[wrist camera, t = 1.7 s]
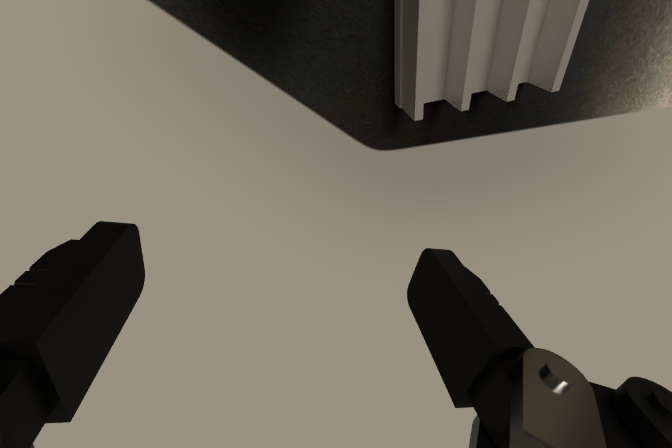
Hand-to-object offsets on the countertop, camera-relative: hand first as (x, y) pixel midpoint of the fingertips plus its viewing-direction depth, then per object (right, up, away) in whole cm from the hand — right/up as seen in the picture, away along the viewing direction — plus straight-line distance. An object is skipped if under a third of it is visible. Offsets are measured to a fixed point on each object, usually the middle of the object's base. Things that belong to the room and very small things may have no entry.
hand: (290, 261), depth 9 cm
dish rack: (+14, +22, +19) cm, 32 cm away
